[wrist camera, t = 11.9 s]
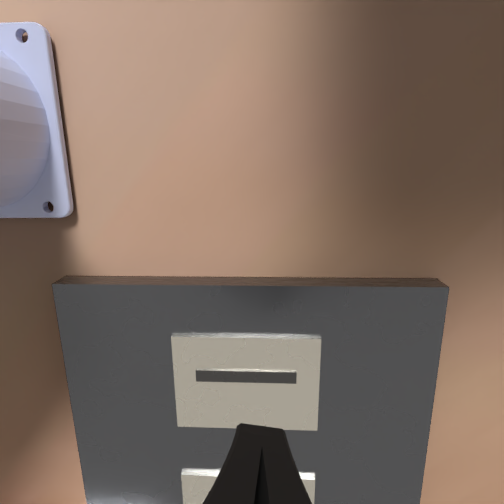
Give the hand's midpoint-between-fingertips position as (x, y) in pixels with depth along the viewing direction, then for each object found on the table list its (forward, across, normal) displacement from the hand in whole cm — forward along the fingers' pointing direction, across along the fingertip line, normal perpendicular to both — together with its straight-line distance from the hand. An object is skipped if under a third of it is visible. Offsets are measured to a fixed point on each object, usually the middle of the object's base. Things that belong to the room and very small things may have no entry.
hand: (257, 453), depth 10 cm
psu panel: (+8, 0, +8) cm, 11 cm away
